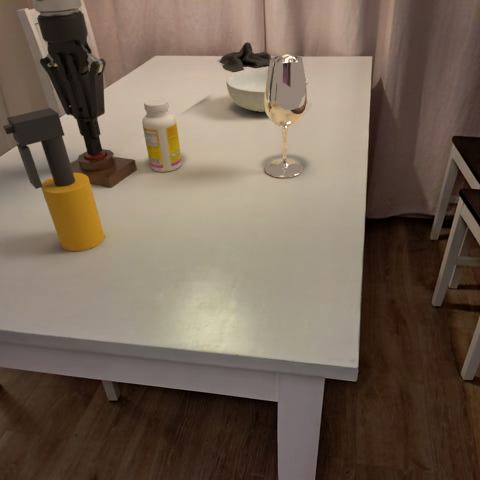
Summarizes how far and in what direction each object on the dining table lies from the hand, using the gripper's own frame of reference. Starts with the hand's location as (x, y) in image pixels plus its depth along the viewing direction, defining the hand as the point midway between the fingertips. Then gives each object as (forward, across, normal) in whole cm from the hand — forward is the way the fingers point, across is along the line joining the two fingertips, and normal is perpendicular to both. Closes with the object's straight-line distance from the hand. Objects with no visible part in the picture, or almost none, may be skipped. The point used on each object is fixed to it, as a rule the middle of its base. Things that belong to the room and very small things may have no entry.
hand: (95, 152), depth 92 cm
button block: (+5, 0, 0) cm, 5 cm away
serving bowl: (+5, +17, +50) cm, 53 cm away
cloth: (+5, -8, +92) cm, 93 cm away
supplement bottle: (+5, +11, +8) cm, 14 cm away
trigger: (-6, +11, -25) cm, 28 cm away
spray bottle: (+5, +13, -22) cm, 26 cm away
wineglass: (+5, +35, +14) cm, 38 cm away
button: (+2, 0, 0) cm, 2 cm away
